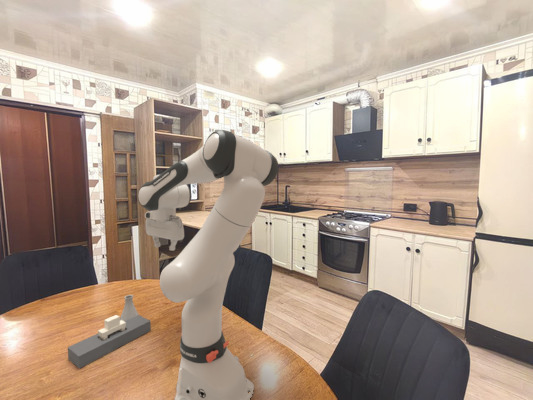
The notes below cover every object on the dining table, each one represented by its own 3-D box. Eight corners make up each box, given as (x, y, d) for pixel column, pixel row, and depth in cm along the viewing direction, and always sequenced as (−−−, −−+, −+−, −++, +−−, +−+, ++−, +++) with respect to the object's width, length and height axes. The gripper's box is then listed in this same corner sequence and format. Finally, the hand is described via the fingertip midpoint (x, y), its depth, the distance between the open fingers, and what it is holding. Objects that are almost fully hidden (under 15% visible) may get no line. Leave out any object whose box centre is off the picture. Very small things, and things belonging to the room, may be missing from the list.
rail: (150, 330, 98) (150, 320, 98) (79, 368, 78) (78, 356, 78) (138, 324, 103) (138, 314, 102) (68, 358, 82) (67, 347, 82)
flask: (130, 325, 102) (129, 301, 101) (115, 322, 104) (114, 299, 103) (142, 316, 109) (142, 293, 108) (128, 314, 111) (127, 291, 110)
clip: (126, 339, 93) (125, 314, 92) (102, 351, 86) (101, 324, 85) (122, 336, 94) (121, 312, 94) (98, 348, 88) (97, 322, 87)
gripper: (187, 215, 98) (188, 250, 99) (156, 212, 109) (156, 243, 110) (174, 217, 93) (174, 254, 94) (142, 213, 104) (142, 246, 105)
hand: (164, 248), depth 102 cm, fingers open, 8 cm apart
